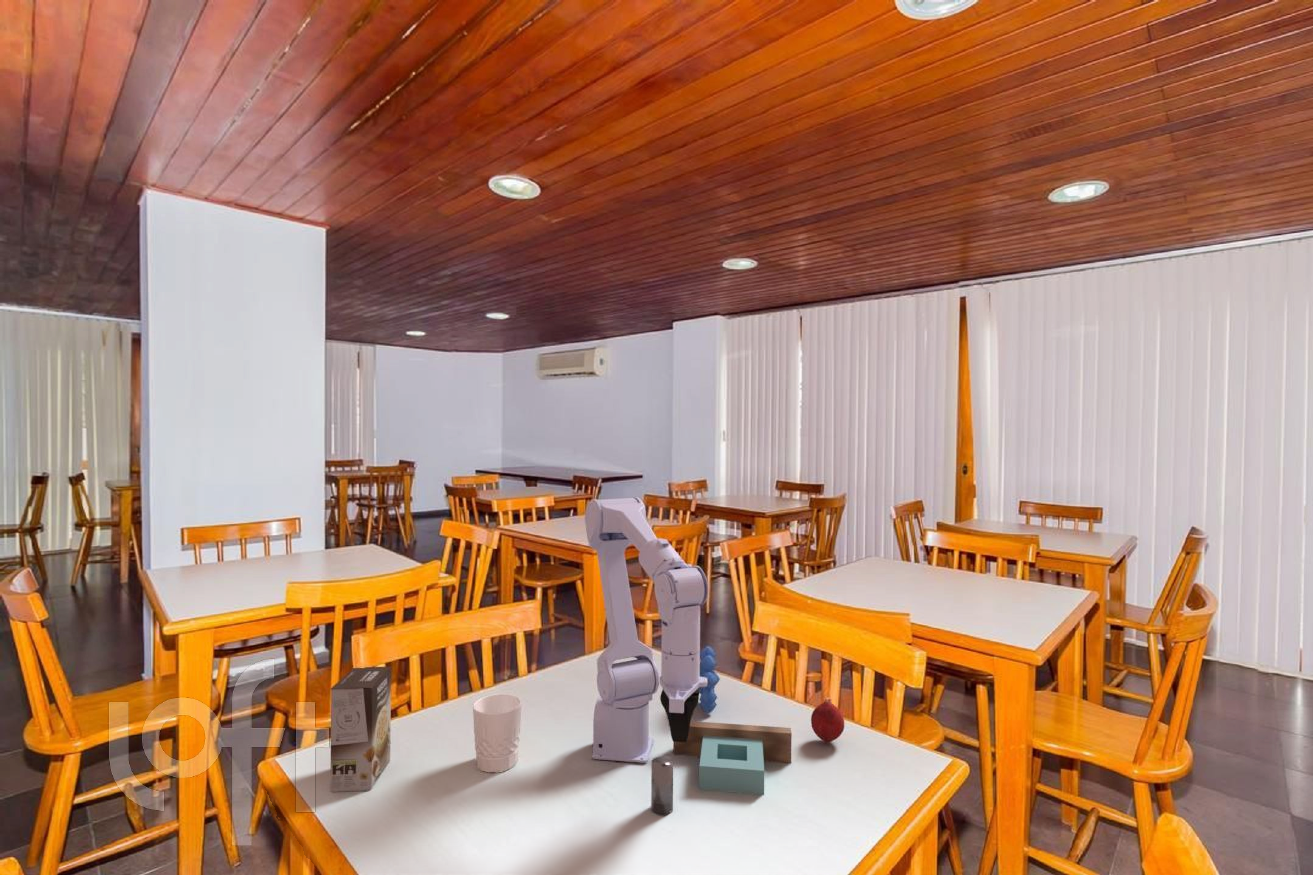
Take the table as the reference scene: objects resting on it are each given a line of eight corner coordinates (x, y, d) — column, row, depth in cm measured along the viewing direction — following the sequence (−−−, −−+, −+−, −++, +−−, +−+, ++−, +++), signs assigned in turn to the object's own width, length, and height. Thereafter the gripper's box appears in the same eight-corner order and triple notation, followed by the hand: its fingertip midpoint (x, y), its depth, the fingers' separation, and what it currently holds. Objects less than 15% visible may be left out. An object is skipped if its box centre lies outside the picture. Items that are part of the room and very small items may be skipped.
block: (699, 791, 99) (699, 765, 99) (703, 758, 109) (703, 735, 109) (764, 796, 98) (764, 770, 98) (762, 762, 108) (762, 739, 108)
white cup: (530, 762, 107) (530, 703, 107) (489, 780, 101) (489, 718, 101) (504, 745, 112) (504, 689, 112) (463, 762, 107) (463, 703, 106)
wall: (673, 753, 110) (673, 725, 110) (674, 748, 112) (674, 719, 112) (791, 762, 107) (791, 733, 107) (790, 756, 109) (790, 727, 109)
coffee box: (372, 791, 98) (372, 687, 98) (329, 792, 98) (329, 688, 97) (391, 760, 107) (391, 665, 107) (352, 761, 107) (352, 666, 106)
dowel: (649, 814, 93) (650, 766, 93) (652, 801, 96) (653, 755, 96) (671, 816, 92) (672, 768, 92) (674, 803, 95) (674, 757, 95)
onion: (845, 752, 111) (846, 706, 111) (811, 748, 112) (812, 703, 112) (842, 736, 117) (843, 693, 116) (810, 733, 118) (810, 690, 118)
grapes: (685, 695, 134) (686, 638, 134) (718, 695, 134) (718, 639, 134) (686, 720, 123) (686, 658, 122) (721, 721, 122) (722, 659, 122)
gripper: (705, 668, 87) (704, 767, 87) (709, 634, 101) (708, 718, 102) (654, 666, 88) (653, 763, 88) (665, 632, 102) (664, 716, 102)
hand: (679, 739), depth 95 cm, fingers closed
